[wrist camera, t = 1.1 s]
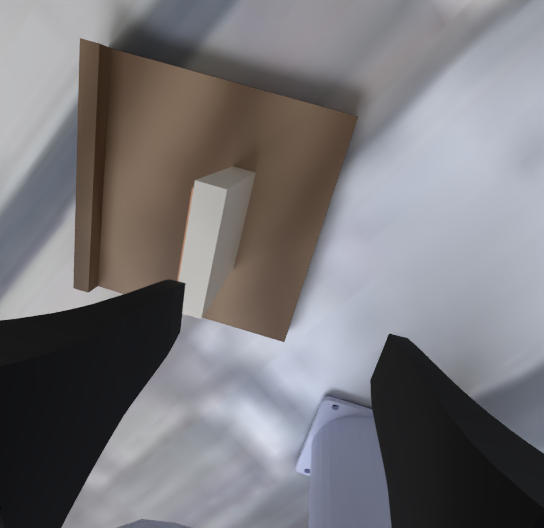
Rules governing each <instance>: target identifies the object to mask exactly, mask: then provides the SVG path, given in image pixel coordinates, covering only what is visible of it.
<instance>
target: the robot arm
mask: <svg viewBox="0 0 544 528" xmlns="http://www.w3.org/2000/svg"><path fill="white" fill-rule="evenodd" d="M185 284H186V283H183V282H179V281H175V280H171V279H167V280H163V281H160V282H157V283H154V284H152V285H149V286H146V287H143V288H140V289H138V290H135V291H132V292H129V293H126V294H124V295H121V296H117V297H114V298H111V299H108V300H104V301H101V302H98V303H95V304H91V305H87V306H83V307H79V308H75V309H71V310H66V311H61V312H56V313H51V314H44V315H38V316H32V317H25V318H19V319H10V320H1V321H0V528H61V527H62V525H63V523H64V521H65V519H66V517H67V515H68V513H69V511H70V510H71V508H72V506H73V504H74V502H75V500H76V498H77V497H78V495H79V493H80V491H81V489H82V487H83V485H84V484H85V482H86V480H87V478H88V476H89V474H90V473H91V471H92V469H93V467H94V466H95V464H96V462H97V460H98V458H99V457H100V455H101V453H102V451H103V450H104V448H105V446H106V444H107V443H108V441H109V439H110V438H111V436H112V434H113V432H114V431H115V429H116V427H117V426H118V424H119V422H120V421H121V419H122V417H123V416H124V414H125V413H126V411H127V410H128V408H129V407H130V405H131V404H132V403H133V401H134V400H135V399H136V397H137V396H138V395H139V393H140V392H141V391H142V389H143V388H144V387H145V385H146V384H147V382H148V381H149V380H150V378H151V377H152V376H153V374H154V373H155V372H156V370H157V369H158V368H159V366H160V365H161V363H162V362H163V361H164V359H165V358H166V356H167V355H168V353H169V352H170V350H171V348H172V346H173V344H174V342H175V341H176V339H177V337H178V335H179V333H180V328H181V319H182V310H183V302H184V293H185ZM370 382H371V401H372V409H369V408H366V407H363V406H360V405H356V404H353V403H350V402H347V401H343V400H340V399H337V398H333V397H329V396H327V397H324V398H323V399H322V401H321V403H320V406H319V408H318V411H317V413H316V415H315V418H314V420H313V423H312V425H311V428H310V430H309V432H308V435H307V437H306V440H305V442H304V444H303V447H302V449H301V452H300V454H299V456H298V459H297V461H296V465H295V469H296V471H297V472H299V473H302V474H305V475H308V476H310V497H309V527H308V528H544V453H542V452H541V451H539V450H538V449H536V448H535V447H533V446H532V445H530V444H529V443H527V442H526V441H525V440H523V439H522V438H520V437H519V436H518V435H516V434H515V433H514V432H512V431H511V430H510V429H508V428H507V427H506V426H504V425H503V424H502V423H501V422H499V421H498V420H497V419H495V418H494V417H493V416H492V415H490V414H489V413H488V412H487V411H485V410H484V409H483V408H482V407H481V406H479V405H478V404H477V403H476V402H475V401H474V400H473V399H471V398H470V397H469V396H468V395H467V394H466V393H465V392H464V391H462V390H461V389H460V388H459V387H458V386H457V385H456V384H455V383H454V382H453V381H452V380H451V379H450V378H449V377H447V376H446V375H445V374H444V373H443V372H442V371H441V370H440V369H439V368H438V367H437V366H436V365H435V364H434V363H433V362H432V361H431V360H430V359H429V358H428V357H427V356H426V355H425V354H424V353H423V352H422V351H421V350H420V349H419V348H418V347H417V346H416V345H415V344H414V343H413V342H411V341H410V340H409V339H408V338H405V337H401V336H397V335H393V334H389V335H388V338H387V340H386V343H385V345H384V348H383V350H382V353H381V355H380V358H379V360H378V363H377V365H376V368H375V370H374V373H373V375H372V378H371V380H370ZM333 405H338V406H333ZM118 528H191V527H188V526H184V525H181V524H177V523H172V522H164V521H155V520H146V519H141V520H138V521H135V522H132V523H129V524H126V525H123V526H121V527H118Z"/></svg>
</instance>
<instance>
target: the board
mask: <svg viewBox="0 0 544 528" xmlns="http://www.w3.org/2000/svg"><path fill="white" fill-rule="evenodd" d="M357 118H358V116H354V115H350V114H347V113H343V112H340V111H336V110H332V109H329V108H325V107H321V106H318V105H314V104H311V103H307V102H303V101H300V100H296V99H292V98H289V97H285V96H282V95H278V94H274V93H271V92H267V91H263V90H260V89H256V88H253V87H249V86H245V85H242V84H238V83H234V82H231V81H227V80H224V79H220V78H216V77H213V76H209V75H205V74H202V73H198V72H195V71H191V70H187V69H184V68H180V67H176V66H173V65H169V64H166V63H162V62H158V61H155V60H151V59H147V58H144V57H140V56H137V55H133V54H129V53H126V52H122V51H118V50H115V49H111V48H109V47H106V46H104V45H101V44H99V43H95V42H91V41H88V40H84V39H81V38H80V58H79V97H78V136H77V175H76V214H75V253H74V288H75V289H78V290H82V291H85V292H90V291H91V290H93V289H94V288H96V287H97V286H100V287H103V288H106V289H110V290H113V291H116V292H120V293H123V294H126V293H129V292H132V291H135V290H138V289H140V288H143V287H146V286H149V285H152V284H154V283H157V282H160V281H163V280H167V279H171V280H175V281H177V278H178V272H179V266H180V260H181V253H182V247H183V241H184V235H185V228H186V222H187V216H188V210H189V203H190V197H191V191H192V187H194V183H195V180H197V179H200V178H202V177H205V176H208V175H211V174H213V173H216V172H219V171H221V170H224V169H227V168H230V167H232V166H234V167H238V168H241V169H245V170H248V171H252V172H255V173H256V174H255V178H254V183H253V187H252V191H251V196H250V200H249V204H248V209H247V213H246V217H245V222H244V226H243V230H242V235H241V239H240V243H239V247H238V252H237V256H236V260H235V265H234V269H233V271H232V272H231V274H230V276H229V277H228V279H227V280H226V282H225V283H224V285H223V286H222V288H221V289H220V291H219V292H218V294H217V296H216V297H215V299H214V300H213V302H212V303H211V305H210V306H209V308H208V309H207V311H206V312H205V314H204V316H203V318H206V319H209V320H213V321H216V322H219V323H223V324H226V325H229V326H233V327H236V328H239V329H243V330H246V331H249V332H253V333H256V334H259V335H263V336H266V337H269V338H273V339H276V340H279V341H283V342H284V341H285V338H286V335H287V332H288V329H289V326H290V323H291V320H292V317H293V314H294V311H295V308H296V304H297V301H298V298H299V295H300V292H301V289H302V286H303V283H304V280H305V277H306V274H307V271H308V268H309V265H310V262H311V259H312V256H313V252H314V249H315V246H316V243H317V240H318V237H319V234H320V231H321V228H322V225H323V222H324V219H325V216H326V213H327V210H328V207H329V204H330V200H331V197H332V194H333V191H334V188H335V185H336V182H337V179H338V176H339V173H340V170H341V167H342V164H343V161H344V158H345V155H346V152H347V148H348V145H349V142H350V139H351V136H352V133H353V130H354V127H355V124H356V121H357Z"/></svg>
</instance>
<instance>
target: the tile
mask: <svg viewBox="0 0 544 528" xmlns="http://www.w3.org/2000/svg"><path fill="white" fill-rule="evenodd" d="M255 174H256V173H255V172H252V171H248V170H245V169H241V168H238V167H234V166H232V167H230V168H227V169H224V170H221V171H219V172H216V173H213V174H211V175H208V176H205V177H202V178H200V179H197V180H195V183H194V187H192V191H191V197H190V203H189V210H188V216H187V222H186V228H185V235H184V241H183V247H182V253H181V260H180V266H179V272H178V278H177V281H179V282H183V283H186V284H185V293H184V302H183V310H182V314H185V315H188V316H192V317H195V318H198V319H202V317H203V316H204V314H205V312H206V311H207V309H208V308H209V306H210V305H211V303H212V302H213V300H214V299H215V297H216V296H217V294H218V292H219V291H220V289H221V288H222V286H223V285H224V283H225V282H226V280H227V279H228V277H229V276H230V274H231V272H232V271H233V269H234V265H235V260H236V256H237V252H238V247H239V243H240V239H241V235H242V230H243V226H244V222H245V217H246V213H247V209H248V204H249V200H250V196H251V191H252V187H253V183H254V178H255Z"/></svg>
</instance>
